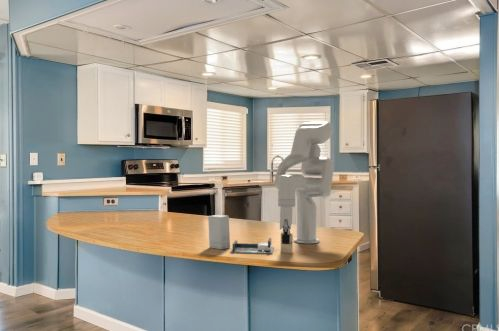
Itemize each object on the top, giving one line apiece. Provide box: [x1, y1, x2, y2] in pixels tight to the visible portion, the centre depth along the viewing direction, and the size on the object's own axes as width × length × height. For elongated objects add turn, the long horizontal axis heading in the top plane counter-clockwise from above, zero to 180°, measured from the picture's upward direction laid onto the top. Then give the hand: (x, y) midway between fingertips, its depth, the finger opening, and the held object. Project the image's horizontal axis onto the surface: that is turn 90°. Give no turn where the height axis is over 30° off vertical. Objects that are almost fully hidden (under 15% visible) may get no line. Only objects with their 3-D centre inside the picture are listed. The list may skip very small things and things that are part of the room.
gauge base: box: [230, 240, 275, 255], centre depth 190 cm, size 12×18×4 cm, turn 83°
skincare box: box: [207, 214, 231, 250], centre depth 195 cm, size 8×6×15 cm
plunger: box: [257, 237, 272, 252], centre depth 188 cm, size 9×6×4 cm, turn 173°
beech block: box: [280, 231, 294, 254], centre depth 188 cm, size 5×5×8 cm
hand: (286, 242), depth 187 cm, fingers open, 9 cm apart
